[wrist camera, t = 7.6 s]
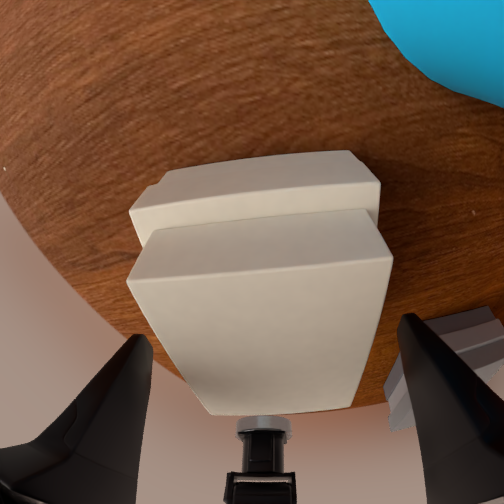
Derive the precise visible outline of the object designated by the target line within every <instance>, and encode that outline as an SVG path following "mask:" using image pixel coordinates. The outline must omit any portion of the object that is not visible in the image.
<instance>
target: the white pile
mask: <svg viewBox="0 0 504 504" xmlns="http://www.w3.org/2000/svg"><path fill="white" fill-rule="evenodd" d="M380 189H381V183H380V181H379V180H378V179H377V178H376V177H375V176H374V174H373V173H372V172H371V171H370V170H369V169H368V168H367V167H366V166H365V164H364V163H363V162H361V161H359V160H358V159H357V158H356V157H355V156H354V155H353V154H352V153H351V152H350V151H349V150H341V151H322V152H307V153H295V154H284V155H274V156H264V157H256V158H247V159H240V160H232V161H225V162H218V163H212V164H205V165H199V166H193V167H188V168H182V169H177V170H171V171H168V172H167V173H166V174H165V175H164V177H163V178H162V179H161V180H160V182H159V183H158V184H155V185H150V186H148V187H147V188H146V190H145V191H144V192H143V193H142V195H141V196H140V197H139V198H138V200H137V201H136V202H135V203H134V205H133V206H132V207H131V208H130V210H129V214H130V216H131V219H132V222H133V224H134V227H135V229H136V232H137V235H138V237H139V240H140V242H141V244H142V247H143V248H144V246H145V244H146V242H147V240H148V239H149V237H150V235H151V233H152V232H153V231H157V230H164V229H172V228H179V227H187V226H195V225H203V224H211V223H220V222H229V221H237V220H246V219H256V218H265V217H275V216H285V215H296V214H307V213H318V212H329V211H342V210H355V209H366V210H367V212H368V214H369V215H370V217H371V219H372V220H373V222H374V224H375V225H376V227H377V223H378V213H379V202H380Z"/></svg>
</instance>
